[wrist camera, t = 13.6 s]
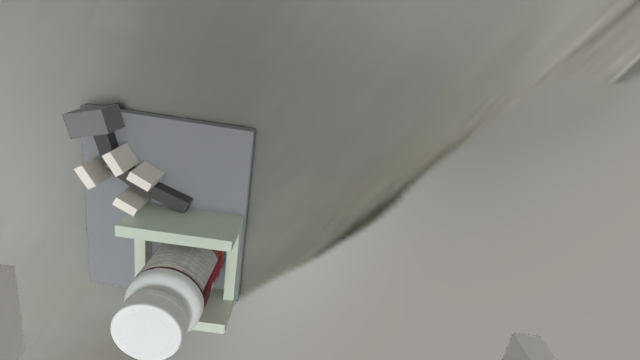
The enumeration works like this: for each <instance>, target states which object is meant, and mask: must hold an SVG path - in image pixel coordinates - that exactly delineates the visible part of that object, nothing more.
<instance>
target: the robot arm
mask: <svg viewBox="0 0 640 360" xmlns="http://www.w3.org/2000/svg"><path fill="white" fill-rule="evenodd" d="M25 351H26V349H25V341H24V334H23V326H22V318H21V311H20V303H19V296H18V288H17V280H16V273H15V266H9V265H2V264H0V360H17V359H18V358H19V357H20V356H21V355H22V354H23V353H24V352H25ZM502 360H557V359H556V357H555V356H554V355H553V353H552V352H551V350H550V349H549V348H548V346H547V345H546V344H545V342H544V341H543V339H542V338H541V337H540V336H535V335H527V334H520V333H512V336H511V338H510V341H509V344H508V346H507V348H506V351H505V354H504V356H503V359H502Z"/></svg>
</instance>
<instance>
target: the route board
mask: <svg viewBox="0 0 640 360" xmlns="http://www.w3.org/2000/svg"><path fill="white" fill-rule="evenodd" d="M62 116H63V119H64V121H65V124H66V127H67V130H68V133H69V136H70V138H71V139H73V138H81V137H82V152H83V164H82V165H81V166H79V167H77V168H75V169H74V170H75V172H76V173H77V175H78V176H79V177H80V179H81V180H82V182H83V183H84V187H85V204H86V222H87V240H88V257H89V275H90V282H95V283H103V284H110V285H118V286H125V287H129V285H130V284H131V282H132V281H133V280H134V278H135V254H134V239H132V238H125V237H117V236H115V225H116V224H117V223H118V222H119V221H120V220H121V219H122V218H123V217H125V216H126V215H127V214H130V215H131V216H134V215H135V214H136V213H137V212H138V211H139V210H141V209H142V208H143V207H144V206H145V205H146V204H147V203H148V202H150V203H157V204H164V205H166V206H168V207H170V208H173V209H175V210H177V211H179V212H181V213H185V212H186V211H187V209H188V208H192V209H199V210H207V211H214V212H221V213H228V214H235V215H242V216H243V227H242V237H241V248H240V259H239V269H238V280H237V290H236V300H235V301H238V298H239V295H240V287H241V277H242V266H243V256H244V246H245V236H246V225H247V215H248V205H249V195H250V185H251V174H252V164H253V154H254V144H255V134H256V129H253V128H247V127H240V126H233V125H227V124H220V123H213V122H207V121H200V120H193V119H187V118H180V117H174V116H167V115H160V114H154V113H147V112H140V111H134V110H127V109H121V108H119V105H118V104H111V105H103V106H101V105H94V104H84V105H81V106H80V109H78V110H75V111H72V112H68V113H65V114H62ZM161 244H162V243H161V242H154V241H152V256H153V254H154V253H155V252H156V251H157V249H158V248H159V247H160V246H161ZM223 253H224V264H223V267H222V270H221V272H220V274H219V277H218V279H217V281H216V283H215V286H214V288H215V289H222V290H224V282H225V270H226V257H227V252H226V251H223Z"/></svg>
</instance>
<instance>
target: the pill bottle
mask: <svg viewBox="0 0 640 360" xmlns="http://www.w3.org/2000/svg"><path fill="white" fill-rule="evenodd" d="M223 264H224V253H223V251H219V250H212V249H205V248H197V247H190V246H183V245H176V244H168V243H162V244H161V246H160V247H159V248H158V249H157V251H156V252H155V253H154V254H153V256H152V257H151V258H150V260H149V261H148V262H147V263H146V264H145V266H144V267H143V268H142V270H141V271H140V272H139V273H138V275H136V277H135V278H134V280H133V281H132V282H131V284H130V285H129V287H128V288H127V290H126V293H125V297H124V303H123V304H122V305H121V307H120V308H119V310H118V311H117V312H116V314H115V315H114V317H113V319H112V322H111V334H112V337H113V340H114V342H115V343H116V345H117V346H118V347H119V348H120V349H121V350H122V351H123V352H125V353H126V354H128V355H129V356H131V357H133V358H136V359H139V360H163V359H166V358H168V357H170V356H172V355H173V354H174V353H175V352H176V351H177V350H178V348H179V347H180V345H181V343H182V341H183V339H184V337H185V335H186V333H187V332H189V331H190V330H191V329H193V328H194V327H195V325H196V324H197V323H198V321H199V320H200V317H201V316H202V314H203V311H204V308H205V306H206V304H207V301H208V299H209V297H210V295H211V293H212V290H213V288H214V286H215V283H216V281H217V279H218V277H219V274H220V272H221V270H222V267H223Z"/></svg>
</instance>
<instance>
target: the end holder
mask: <svg viewBox="0 0 640 360" xmlns="http://www.w3.org/2000/svg"><path fill="white" fill-rule="evenodd" d="M242 227H243V216H242V215H235V214H228V213H221V212H214V211H207V210H199V209H192V208H188V209H187V211H186V212H185V213H181V212H179V211H177V210H175V209H173V208H170V207H168V206H166V205H164V204H157V203H150V202H148V203H147V204H146V205H145V206H144V207H143V208H142V209H141V210H139V211H138V212H137V213H136V214H135V215H134V216H131V215H130V214H127V215H126V216H125V217H123V218H122V219H121V220H120V221H119V222H118V223H117V224H116V225H115V236H117V237H125V238H132V239H134V254H135V277H136V275H138V273H139V272H140V271H141V270H142V268H143V267H144V266H145V264H146V263H147V262H148V261H149V260H150V258H151V257H152V241H154V242H161V243H168V244H176V245H183V246H190V247H197V248H205V249H212V250H219V251H226V252H227V257H226V270H225V282H224V290H222V289H215V288H213V290H212V293H211V295H210V297H209V299H208V301H207V304H206V306H205V308H204V311H203V314H202V316H201V317H200V320H199V321H198V323H197V324H196V325H195V327H194V328H193V329H191V330H197V331H205V332H213V333H221V334H224V333H225V330H226V327H227V324H228V321H229V318H230V315H231V312H232V309H233V306H234V303H235V300H236V290H237V280H238V269H239V259H240V248H241V237H242Z"/></svg>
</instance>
